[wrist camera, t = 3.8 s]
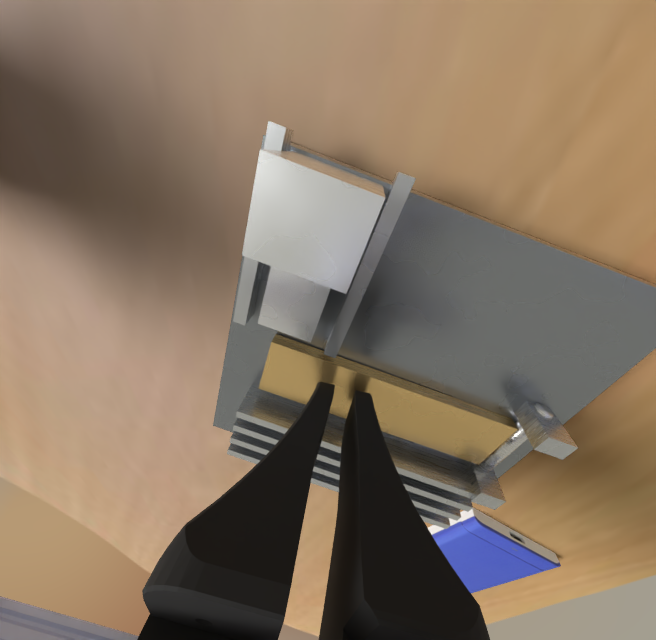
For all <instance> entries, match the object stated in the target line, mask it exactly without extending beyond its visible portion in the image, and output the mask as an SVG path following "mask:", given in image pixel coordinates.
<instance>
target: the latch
mask: <svg viewBox="0 0 656 640" xmlns="http://www.w3.org/2000/svg"><path fill="white" fill-rule="evenodd" d="M384 200H385V194H384V189H383V185H381V184H378V183H376V182H373V181H370V180H368V179H365V178H363V177H360V176H358V175H355V174H352V173H350V172H347V171H345V170H342V169H340V168H337V167H334V166H332V165H329V164H327V163H324V162H321V161H319V160H316V159H314V158H311V157H309V156H306V155H303V154H301V153H298V152H290V151H276V150H262V149H260V152H259V158H258V164H257V170H256V176H255V181H254V187H253V193H252V199H251V205H250V211H249V216H248V222H247V228H246V234H245V240H244V246H243V251H242V256H245V257H248V258H251V259H253V260H256V261H259V262H261V263H264V264H267V265H269V266H271V269H270V273H269V277H268V281H267V286H266V290H265V294H264V298H263V303H262V307H261V311H260V315H259V320H258V324H260V325H263V326H266V327H269V328H272V329H274V330H277V331H280V332H283V333H285V334H288V335H291V336H294V337H296V338H299V339H302V340H305V341H307V342H310V343H311V340H312V338H313V335H314V332H315V330H316V327H317V324H318V322H319V319H320V316H321V314H322V311H323V308H324V306H325V303H326V300H327V297H328V295H329V292H330V289H334V290H337V291H339V292H342V293H345V294H346V293H347V291H348V288H349V286H350V283H351V281H352V278H353V276H354V274H355V271H356V269H357V266H358V264H359V261H360V259H361V256H362V254H363V252H364V249H365V247H366V244H367V242H368V239H369V237H370V234H371V232H372V230H373V227H374V225H375V222H376V220H377V217H378V215H379V212H380V210H381V208H382V205H383V203H384Z"/></svg>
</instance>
